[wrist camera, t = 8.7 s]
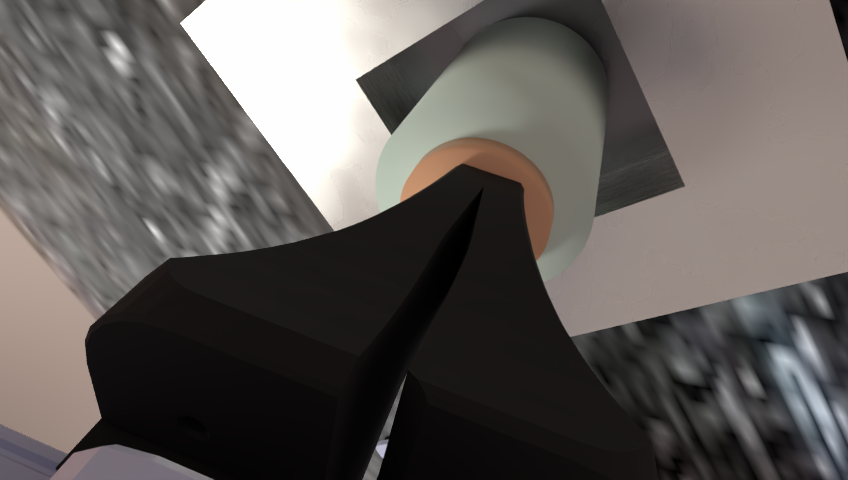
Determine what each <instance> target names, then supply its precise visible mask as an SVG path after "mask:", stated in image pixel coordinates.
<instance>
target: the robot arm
mask: <svg viewBox="0 0 848 480" xmlns="http://www.w3.org/2000/svg"><path fill="white" fill-rule="evenodd" d="M85 347H86V357H87V365H88V369H89V373H90V376H91V380H92V384H93V388H94V391H95V395H96V399H97V402H98V406H99V410H100V413H101V417H102V418H101V419H100V421H99V422H98V423H97V424H96V425H95V426H94V427H93V428H92V429H91V430H90V431H89V432H88V433H87V435H86V436H85V437H84V438H83V439H82V440H81V441H80V442H79V443H78V444H77V445H76V446H75V447H74V449H73V450H72V451H71V452H70V453H69V454H67V453H64V452H62V451H60V450H57V449H55V448H53V447H51V446H48V445H46V444H44V443H42V442H39V441H37V440H35V439H32V438H30V437H28V436H26V435H23V434H21V433H19V432H16V431H14V430H12V429H10V428H7V427H5V426H3V425H0V480H362V479H363V477H364V474H365V472H366V469H367V467H368V464H369V462H370V459H371V457H372V454H373V452H374V449H375V447H376V445H377V447H376V450H377V452H378V453H379V454H380V455H381V457H382V458H383V461H382V465H381V468H380V472H379V475H378V478H377V480H659V479H658V474H657V468H656V463H655V457H654V452H653V447H652V443H651V441H650V439H649V438H648V437H647V436H646V435H645V434H644V433H643V431H642V430H641V429H640V428H639V427H638V426H637V425H636V424H635V422H634V421H633V420H632V419H631V418H630V417H629V416H628V414H627V413H626V412H625V411H624V410H623V409H622V408H621V406H620V405H619V404H618V403H617V402H616V401H615V400H614V399H613V397H612V396H611V395H610V394H609V392H608V391H607V390H606V389H605V387H604V386H603V385H602V383H601V382H600V381H599V379H598V378H597V377H596V375H595V374H594V373H593V371H592V370H591V369H590V367H589V366H588V364H587V363H586V361H585V360H584V358H583V357H582V356H581V354H580V352H579V351H578V349H577V347H576V346H575V344H574V343H573V341H572V339H571V338H570V336H569V334H568V333H567V331H566V330H565V328H564V326H563V324H562V322H561V320H560V318H559V316H558V314H557V312H556V310H555V308H554V306H553V304H552V302H551V299H550V297H549V295H548V293H547V290H546V288H545V285H544V282H543V280H542V277H541V274H540V271H539V268H538V265H537V262H536V259H535V256H534V252H533V249H532V244H531V240H530V236H529V232H528V227H527V222H526V215H525V207H524V188H523V186H522V184H521V183H520V182H517V181H514V180H511V179H508V178H505V177H502V176H499V175H496V174H493V173H490V172H487V171H484V170H481V169H478V168H475V167H472V166H469V165H466V164H463V163H462V164H460V165H458V166H456V167H455V168H453V169H452V170H451V171H449V172H448V173H446V174H445V175H444V176H442V177H441V178H439V179H438V180H436V181H435V182H433V183H432V184H430V185H429V186H427V187H426V188H424V189H422V190H421V191H419V192H417V193H416V194H414V195H412V196H411V197H409V198H408V199H406V200H404V201H402V202H400V203H398V204H396V205H395V206H393V207H391V208H389V209H387V210H385V211H383V212H381V213H379V214H377V215H375V216H373V217H370V218H368V219H366V220H364V221H361V222H359V223H356V224H354V225H351V226H349V227H346V228H343V229H340V230H337V231H334V232H331V233H327V234H323V235H320V236H316V237H312V238H309V239H305V240H301V241H298V242H294V243H289V244H284V245H279V246H274V247H269V248H263V249H257V250H251V251H245V252H237V253H229V254H217V255H206V256H195V257H183V258H170V259H168V260H167V261H166V262H164V263H163V264H162V265H160V266H159V267H158V268H156V269H155V270H154V271H153V272H151V273H150V274H149V275H147V276H146V277H145V278H144V279H143V280H141V281H140V282H139V283H138V284H137V285H136V286H135V287H134V288H133V289H132V290H130V291H129V292H128V293H127V294H126V295H125V296H124V297H123V298H121V299H120V300H119V301H118V302H117V303H116V304H115V305H114V306H113V307H111V308H110V309H109V310H108V311H107V312H106V313H105V314H104V315H102V316H101V317H100V318H99V319H98V320H97V321H96V322H95V323H94V324H92V325H91V326H90V328H89V331H88V334H87V337H86V339H85ZM414 358H415V359H414ZM406 374H407V376H406ZM405 376H406V379H405V383H404V386H403V390H402V393H401V397H400V401H399V404H398V408H397V411H396V415H395V418H394V422H393V426H392V429H391V433H390V436H389V439H387V440H381V441H379V442H378V440H379V437H380V435H381V432H382V430H383V427H384V425H385V423H386V420H387V418H388V415H389V413H390V410H391V408H392V406H393V403H394V401H395V398H396V396H397V393H398V391H399V389H400V386H401V384H402V382H403V380H404V378H405ZM377 442H378V444H377Z"/></svg>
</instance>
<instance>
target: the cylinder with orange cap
mask: <svg viewBox="0 0 848 480" xmlns="http://www.w3.org/2000/svg"><path fill="white" fill-rule="evenodd" d="M609 94H610V93H609V84H608V79H607V75H606V72H605V69H604V67H603V64H602V62H601V60H600V59H599V57H598V55H597V54H596V52H595V51H594V50H593V48H592V47H591V46H590V45H589V43H588V42H586V41H585V40H584V39H583V38H582V37H581V36H580V35H579V34H577V33H576V32H574V31H573V30H571V29H570V28H568V27H566V26H564V25H562V24H560V23H557V22H554V21H551V20H548V19H543V18H537V17H518V18H511V19H507V20H503V21H500V22H497V23H494V24H492V25H490V26H488V27H486V28H485V29H483V30H482V31H480V32H479V33H477V34H476V35H475V36H474V37H472V38H471V39H470V40H469V41H468V42H467V43H466V45H465V46H464V47H463V48H462V49H461V51H460V52H459V53H458V54H457V56H456V57H455V58H454V59H453V60H452V62H451V63H450V64H449V65H448V67H447V68H446V69H445V70H444V71H443V73H442V74H441V75H440V76H439V78H438V79H437V80H436V81H435V83H434V84H433V85H432V86H431V87H430V89H429V90H428V91H427V92H426V94H425V95H424V96H423V97H422V98H421V100H420V101H419V102H418V103H417V105H416V106H415V107H414V108H413V109H412V111H411V112H410V113H409V114H408V116H407V117H406V118H405V119H404V120H403V122H402V123H401V124H400V125H399V127H398V128H397V129H396V130H395V132H394V133H393V134H392V135H391V136H390V138H389V139H388V141H387V143H386V144H385V146H384V148H383V150H382V153H381V155H380V158H379V160H378V165H377V170H376V179H375V188H376V198H377V202H378V207H379V210H380V213H381V212H383V211H385V210H387V209H389V208H391V207H393V206H395V205H396V204H398V203H400V202H402V201H404V200H406V199H408V198H409V197H411V196H412V195H414V194H416V193H417V192H419V191H421V190H422V189H424V188H426V187H427V186H429V185H430V184H432V183H433V182H435V181H436V180H438V179H439V178H441V177H442V176H444V175H445V174H446V173H448V172H449V171H451V170H452V169H453V168H455V167H456V166H458V165H460V164H462V163H463V164H466V165H469V166H472V167H475V168H478V169H481V170H484V171H487V172H490V173H493V174H496V175H499V176H502V177H505V178H508V179H511V180H514V181H517V182H520V183H521V184H522V186H523V188H524V207H525V215H526V222H527V227H528V232H529V236H530V240H531V244H532V249H533V252H534V256H535V259H536V262H537V265H538V268H539V271H540V274H541V277H542V280H543V282H546V281H548V280H550V279H552V278H554V277H555V276H557V275H558V274H560V273H561V272H563V271H564V270H565V269H566V268H567V267H568V266H569V265H571V264H572V263H573V262H574V261H575V259H576V258H577V257H578V255H579V254H580V253H581V252H582V250H583V248H584V246H585V244H586V243H587V241H588V238H589V235H590V232H591V230H592V225H593V220H594V213H595V206H596V198H597V191H598V184H599V176H600V169H601V161H602V154H603V146H604V139H605V131H606V124H607V116H608V109H609Z"/></svg>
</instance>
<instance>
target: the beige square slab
mask: <svg viewBox="0 0 848 480" xmlns="http://www.w3.org/2000/svg"><path fill="white" fill-rule="evenodd" d="M518 17H537V18H543V19H548V20H551V21H554V22H557V23H560V24H562V25H564V26H566V27H568V28H570V29H571V30H573V31H574V32H576V33H577V34H579V35H580V36H581V37H582V38H583V39H584V40H585V41H586V42H588V43H589V45H590V46H591V47H592V48H593V50H594V51H595V52H596V54H597V55H598V57H599V59H600V60H601V62H602V64H603V67H604V69H605V72H606V75H607V79H608V84H609V93H610V94H609V109H608V116H607V124H606V131H605V139H604V146H603V154H602V161H601V169H600V176H599V184H598V191H597V198H596V206H595V213H594V220H593V225H592V230H591V232H590V235H589V238H588V241H587V243H586V244H585V246H584V248H583V250H582V252H581V253H580V254H579V255H578V257H577V258H576V259H575V261H574V262H573V263H572V264H571V265H569V266H568V267H567V268H566V269H565V270H564V271H563V272H561V273H560V274H558V275H557V276H555V277H554V278H552V279H550V280H548V281H546V282H544V285H545V288H546V290H547V293H548V295H549V297H550V299H551V302H552V304H553V306H554V308H555V310H556V312H557V314H558V316H559V318H560V320H561V322H562V324H563V326H564V328H565V330H566V331H567V333H568V334H569V336H570V337H572V336H576V335H580V334H584V333H589V332H593V331H597V330H601V329H606V328H610V327H614V326H618V325H623V324H627V323H631V322H635V321H640V320H644V319H648V318H652V317H657V316H661V315H665V314H669V313H674V312H678V311H682V310H686V309H691V308H695V307H699V306H703V305H708V304H712V303H716V302H720V301H725V300H729V299H733V298H737V297H742V296H746V295H750V294H754V293H759V292H763V291H767V290H771V289H776V288H780V287H784V286H789V285H793V284H797V283H801V282H806V281H810V280H814V279H818V278H823V277H827V276H831V275H835V274H840V273H844V272H848V61H847V58H846V55H845V51H844V48H843V45H842V41H841V38H840V35H839V31H838V28H837V25H836V21H835V18H834V15H833V11H832V8H831V5H830V1H829V0H207V1H205V2H204V3H203V4H202V5H201V6H200V7H199V8H197V9H196V10H195V11H194V12H193V13H192V14H191V15H190V16H188V17H187V18H186V19H185V20H184V21H183V22H182V23H181V24H182V26H183V27H184V28H185V30H186V31H187V32H188V34H189V35H190V36H191V38H192V39H193V40H194V42H195V43H196V44H197V46H198V47H199V49H200V50H201V51H202V53H203V54H204V55H205V57H206V58H207V59H208V61H209V62H210V63H211V65H212V66H213V67H214V69H215V70H216V71H217V73H218V74H219V76H220V77H221V78H222V80H223V81H224V82H225V84H226V85H227V86H228V88H229V89H230V90H231V92H232V93H233V94H234V96H235V97H236V98H237V100H238V101H239V103H240V104H241V105H242V107H243V108H244V109H245V111H246V112H247V113H248V115H249V116H250V117H251V119H252V120H253V121H254V123H255V124H256V125H257V127H258V128H259V130H260V131H261V132H262V134H263V135H264V136H265V138H266V139H267V140H268V142H269V143H270V144H271V146H272V147H273V148H274V150H275V151H276V152H277V154H278V155H279V157H280V158H281V159H282V161H283V162H284V163H285V165H286V166H287V167H288V169H289V170H290V171H291V173H292V174H293V175H294V177H295V178H296V179H297V181H298V182H299V184H300V185H301V186H302V188H303V189H304V190H305V192H306V193H307V194H308V196H309V197H310V198H311V200H312V201H313V202H314V204H315V205H316V206H317V208H318V209H319V211H320V212H321V213H322V215H323V216H324V217H325V219H326V220H327V221H328V223H329V224H330V225H331V227H332V228H333V229H334V231H337V230H340V229H343V228H346V227H349V226H351V225H354V224H356V223H359V222H361V221H364V220H366V219H368V218H370V217H373V216H375V215H377V214H379V213H380V210H379V207H378V202H377V198H376V188H375V179H376V170H377V165H378V160H379V158H380V155H381V153H382V150H383V148H384V146H385V144H386V143H387V141H388V139H389V138H390V136H391V135H392V134H393V133H394V132H395V130H396V129H397V128H398V127H399V125H400V124H401V123H402V122H403V120H404V119H405V118H406V117H407V116H408V114H409V113H410V112H411V111H412V109H413V108H414V107H415V106H416V105H417V103H418V102H419V101H420V100H421V98H422V97H423V96H424V95H425V94H426V92H427V91H428V90H429V89H430V87H431V86H432V85H433V84H434V83H435V81H436V80H437V79H438V78H439V76H440V75H441V74H442V73H443V71H444V70H445V69H446V68H447V67H448V65H449V64H450V63H451V62H452V60H453V59H454V58H455V57H456V56H457V54H458V53H459V52H460V51H461V49H462V48H463V47H464V46H465V45H466V43H467V42H468V41H469V40H470V39H471V38H472V37H474V36H475V35H476V34H477V33H479V32H480V31H482V30H483V29H485V28H486V27H488V26H490V25H492V24H494V23H497V22H500V21H503V20H507V19H511V18H518Z"/></svg>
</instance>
